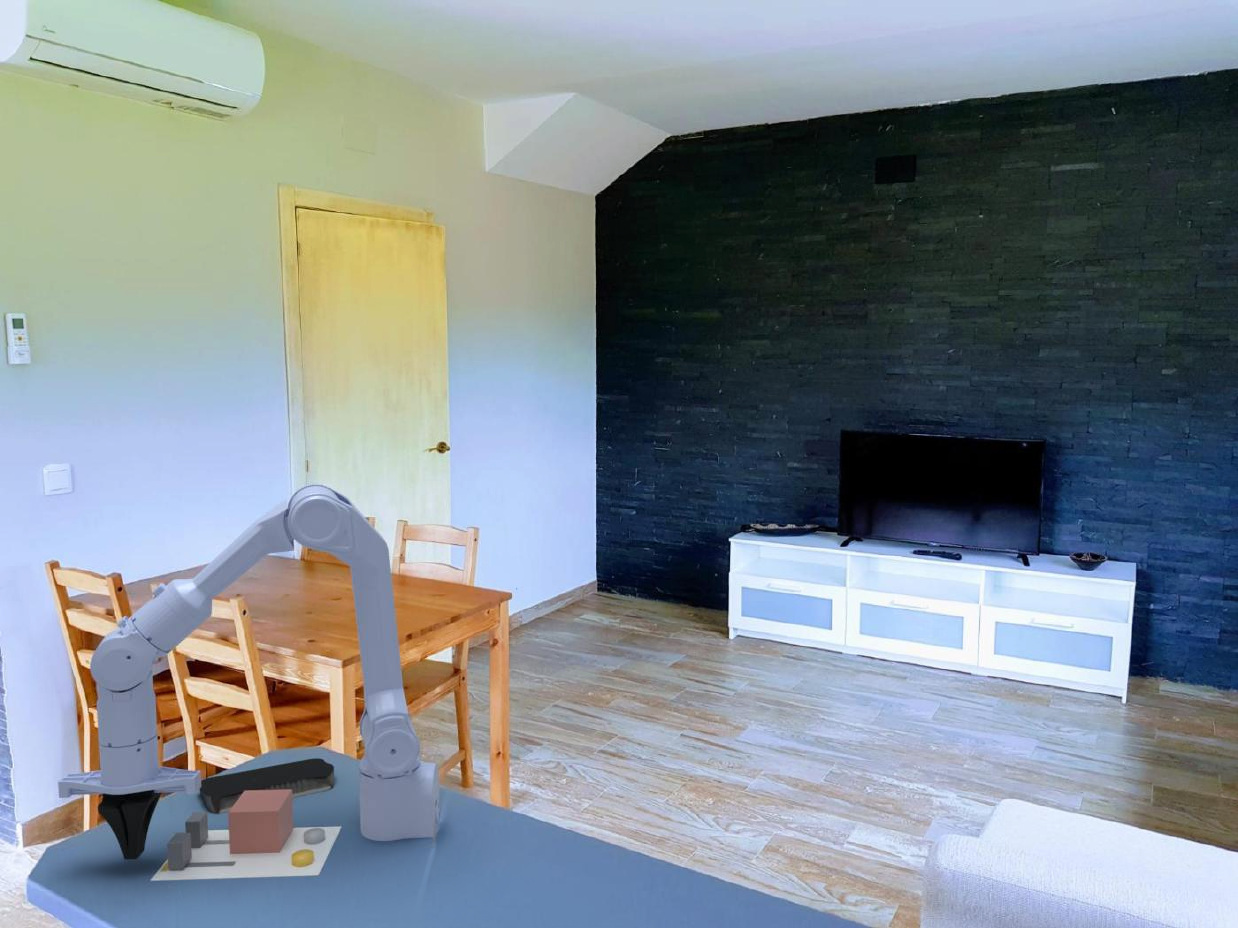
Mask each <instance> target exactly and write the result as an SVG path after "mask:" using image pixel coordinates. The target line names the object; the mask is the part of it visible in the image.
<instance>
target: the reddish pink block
mask: <svg viewBox="0 0 1238 928" xmlns="http://www.w3.org/2000/svg"><path fill="white" fill-rule="evenodd" d="M293 807H294V806H293V798H292V789H286V790H248V791H244V792H243V794H242V795H241V796H240V798H239V799H238V800H237V802H236V803H235V804H234V806H233V807H232V808H231V810H230V811H229V812H227V814H228V830H229V843H230V854H251V853H280V851H281V849H282V848H283V846H284V844H285V843H286V841H287V839H288V837H289V836H290V834H291V832H292V830H293V828H294V808H293Z"/></svg>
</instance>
